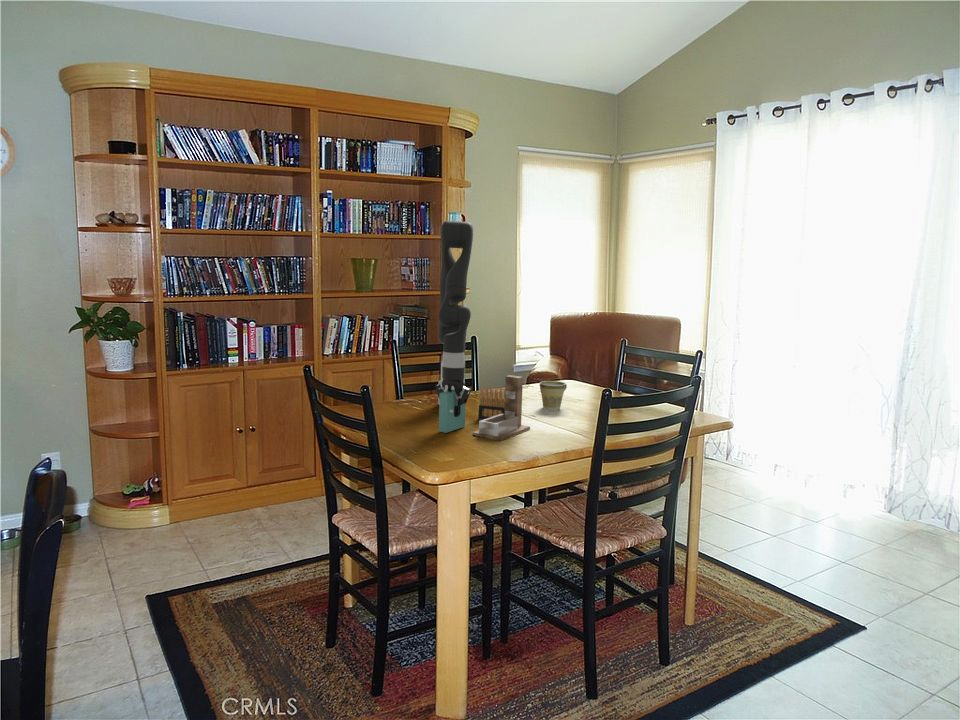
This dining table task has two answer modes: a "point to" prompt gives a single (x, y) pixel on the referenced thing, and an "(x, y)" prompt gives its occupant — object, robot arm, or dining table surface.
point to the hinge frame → (506, 414)
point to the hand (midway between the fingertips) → (452, 415)
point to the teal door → (449, 413)
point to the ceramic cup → (552, 394)
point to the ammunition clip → (491, 403)
